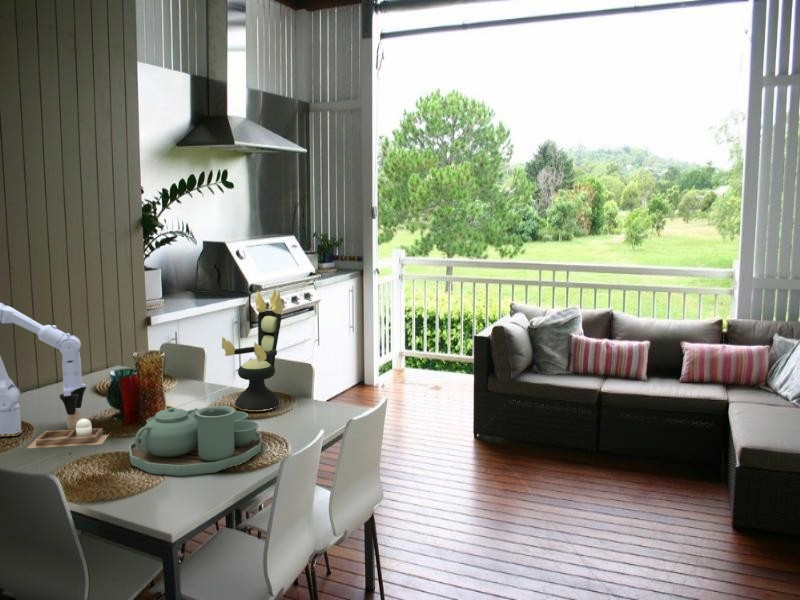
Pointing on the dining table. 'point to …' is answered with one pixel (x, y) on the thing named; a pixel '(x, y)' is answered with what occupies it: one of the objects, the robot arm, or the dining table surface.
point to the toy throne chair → (260, 356)
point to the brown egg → (73, 420)
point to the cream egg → (83, 428)
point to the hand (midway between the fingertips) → (74, 411)
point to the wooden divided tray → (67, 439)
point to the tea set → (195, 441)
